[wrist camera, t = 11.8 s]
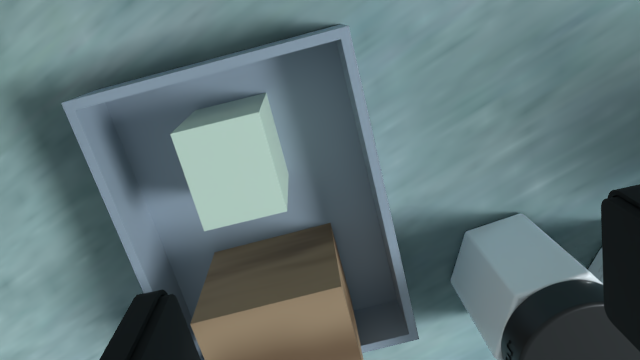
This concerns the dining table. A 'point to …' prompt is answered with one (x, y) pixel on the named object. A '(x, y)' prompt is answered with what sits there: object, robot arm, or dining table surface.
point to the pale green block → (233, 162)
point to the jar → (533, 296)
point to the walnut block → (278, 301)
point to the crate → (300, 157)
